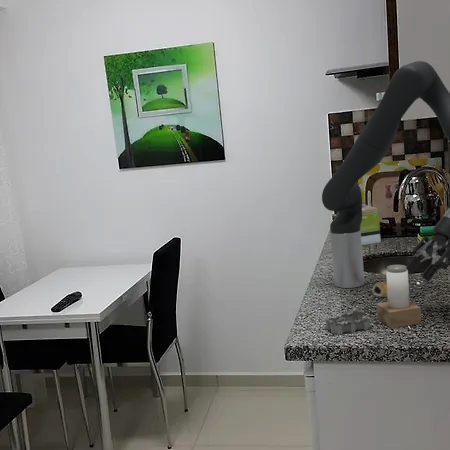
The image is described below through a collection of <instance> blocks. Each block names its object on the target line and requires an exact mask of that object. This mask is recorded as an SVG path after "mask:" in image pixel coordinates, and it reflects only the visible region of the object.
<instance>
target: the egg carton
mask: <svg viewBox="0 0 450 450" xmlns="http://www.w3.org/2000/svg"><path fill="white" fill-rule="evenodd" d="M323 319H324V321H325V329H326V330H330V334H338V335H343V333H344V332H350V333H355V332H356V330H369V328H371V320H372V317H370V316H369V315H366V313H365V311H364V310H363V309H362V308H361V307H355V308H354V307H353V308H351V309H349V311H348V312H343V313H341V314H339V315H333V316H331V317H323Z"/></svg>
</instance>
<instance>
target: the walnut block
mask: <svg viewBox="0 0 450 450" xmlns="http://www.w3.org/2000/svg"><path fill="white" fill-rule="evenodd" d="M409 305H410V306H409V307H407V308H401V309H396V308H390V307H388V301H385V302H378V303H376V317H377V320H379V321H380V322H382V323H383V324H384V325H385V326H388V327H389V328H390V329H395V328H400V327H406V326H412V325H418V324H422V309H421V307H420V306H419V305H417V304H415V303H414V302H412V301H410V300H409Z"/></svg>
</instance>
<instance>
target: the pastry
mask: <svg viewBox="0 0 450 450" xmlns="http://www.w3.org/2000/svg"><path fill="white" fill-rule="evenodd" d="M371 292H372V294H373V295H374V296H376V297H381V298H388V296H387V281H382V282H378V283H374V284H373V286H372V289H371Z"/></svg>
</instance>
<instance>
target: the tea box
mask: <svg viewBox="0 0 450 450" xmlns="http://www.w3.org/2000/svg"><path fill="white" fill-rule="evenodd" d="M380 226H381V225H380V213H379V208H378V207H375V206H371V205H367V204H365V203H362V222H361V225H360V229H361V242H362V246H366V245H372V244H378V243H381V242H382V241H381V227H380Z"/></svg>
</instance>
